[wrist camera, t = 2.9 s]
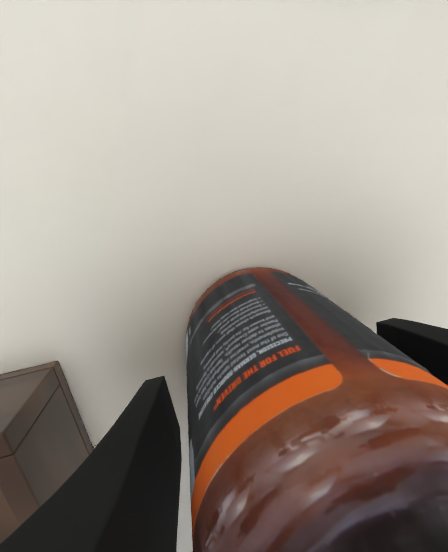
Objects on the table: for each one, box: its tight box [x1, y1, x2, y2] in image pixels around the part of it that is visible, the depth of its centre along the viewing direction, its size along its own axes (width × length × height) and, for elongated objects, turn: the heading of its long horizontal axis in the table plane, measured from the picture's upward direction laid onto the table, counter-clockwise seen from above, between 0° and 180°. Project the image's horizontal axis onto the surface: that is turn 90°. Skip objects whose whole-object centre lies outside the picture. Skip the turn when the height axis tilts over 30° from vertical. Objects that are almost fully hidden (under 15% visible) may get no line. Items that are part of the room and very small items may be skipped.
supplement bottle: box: [186, 268, 448, 552], centre depth 8 cm, size 6×6×11 cm
